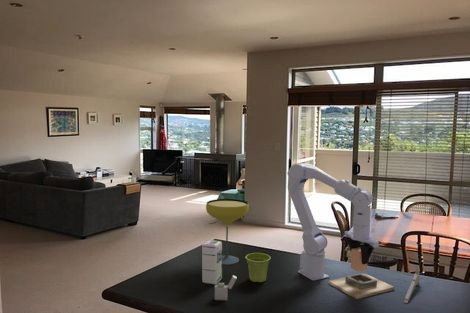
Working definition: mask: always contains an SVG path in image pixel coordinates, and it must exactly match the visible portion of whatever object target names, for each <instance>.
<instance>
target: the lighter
mask: <svg viewBox="0 0 470 313" xmlns="http://www.w3.org/2000/svg"><path fill="white" fill-rule="evenodd" d="M236 281H237V276H236V275H234V274H232V276H231V278H230V280H229V282H228V284H227V285H225V282H218V283H217V284H214V300H215V301H228V292H229V291H228V289H230V290H232V289H233V286H234V284H235V283H236Z"/></svg>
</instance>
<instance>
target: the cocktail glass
mask: <svg viewBox="0 0 470 313" xmlns="http://www.w3.org/2000/svg"><path fill="white" fill-rule="evenodd" d="M249 208H250V206H249V202H248V201H245V200H242V199H234V198H219V199H212V200H211V199H210V200H208V201H207V202H206V205H205V210H206V212H207V214H208V215H209V216H210V217H212V218H213V219H216V220H218V221H220V222H221V223H222V224H223V225H224V226H225V228H226V230H225V231H226V233H225V234H226V235H225V254H224V255H222V266H229V265H235V264H238V263H239V262H240V259H239V257H237V256H233V255H229V251H228V250H229V249H228V248H229V247H228V246H229V243H228V237H229V236H228V235H229V232H228V230H229V227H230V225H231V224H232V223H233V222H235V221H237V220H240V219H241V218H243V217H245V216H246V215H247V214H248V212H249Z"/></svg>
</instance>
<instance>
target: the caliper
mask: <svg viewBox="0 0 470 313" xmlns="http://www.w3.org/2000/svg"><path fill="white" fill-rule="evenodd" d="M419 284H420V268H415V273H414V274H413V277H412V280H411V283H410V286H409V287H408V290H407V292H406V295H405V297H404V301H403V304H404V303H405V304H408V302H410V299H411V297H412V294H413V291H414V289H415V287H416V286H419Z"/></svg>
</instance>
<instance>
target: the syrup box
mask: <svg viewBox="0 0 470 313" xmlns="http://www.w3.org/2000/svg"><path fill="white" fill-rule="evenodd" d="M201 249H202V251H201V252H202V253H201V255H202V256H201V258H202V260H201V267H202V268H201V269H202V270H201V272H202V273H201V276H202V283H204V284H211V285H217V284H218V283H220V281H221V280H222V279H223V265H222V256H223V242H222V240H216V239H208V240H207V241H206V242H204V243H202V246H201Z"/></svg>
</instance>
